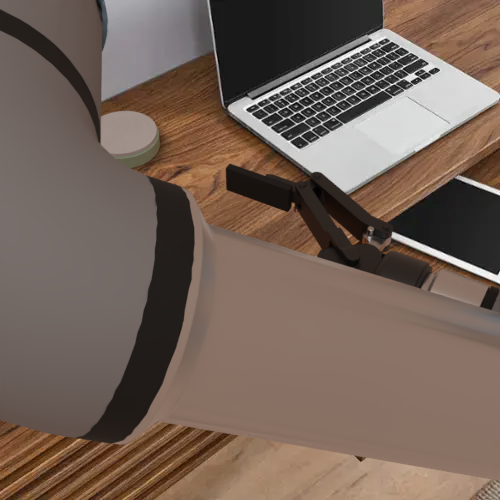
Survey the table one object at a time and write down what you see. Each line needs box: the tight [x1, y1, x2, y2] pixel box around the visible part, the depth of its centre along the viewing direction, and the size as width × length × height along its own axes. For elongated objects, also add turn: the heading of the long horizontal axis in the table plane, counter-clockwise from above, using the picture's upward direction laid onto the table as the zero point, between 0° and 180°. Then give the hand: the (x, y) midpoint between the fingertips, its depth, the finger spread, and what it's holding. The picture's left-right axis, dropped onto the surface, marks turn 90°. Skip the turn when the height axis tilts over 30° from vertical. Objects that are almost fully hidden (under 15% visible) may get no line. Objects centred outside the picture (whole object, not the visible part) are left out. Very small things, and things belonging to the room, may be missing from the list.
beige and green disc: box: [101, 110, 161, 169], centre depth 97 cm, size 9×9×2 cm
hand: (189, 221), depth 67 cm, fingers open, 13 cm apart
